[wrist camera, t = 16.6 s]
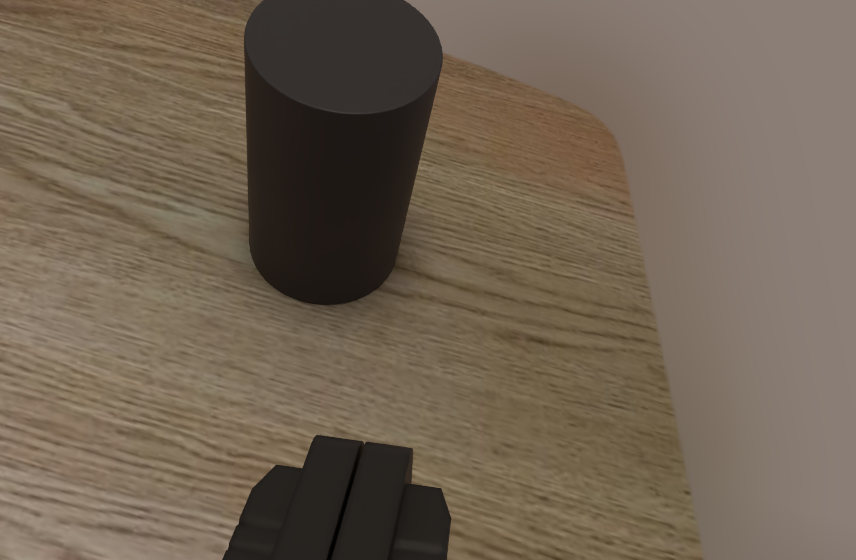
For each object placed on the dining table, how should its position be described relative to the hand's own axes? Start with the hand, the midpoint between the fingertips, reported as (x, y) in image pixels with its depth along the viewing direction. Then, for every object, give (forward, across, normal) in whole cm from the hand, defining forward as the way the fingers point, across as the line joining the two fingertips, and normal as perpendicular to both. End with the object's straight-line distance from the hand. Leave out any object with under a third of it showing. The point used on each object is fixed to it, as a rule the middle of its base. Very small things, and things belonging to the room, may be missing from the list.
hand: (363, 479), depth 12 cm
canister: (+23, +7, +10) cm, 26 cm away
